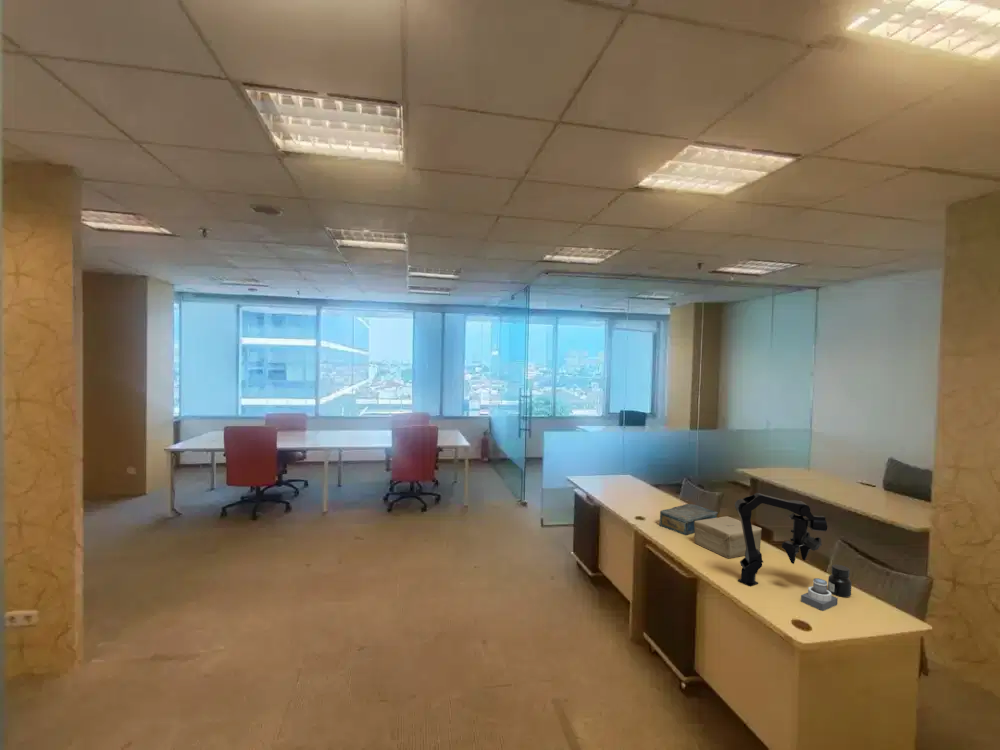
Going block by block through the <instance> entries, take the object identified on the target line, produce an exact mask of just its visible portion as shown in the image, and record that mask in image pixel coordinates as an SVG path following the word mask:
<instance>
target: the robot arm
mask: <svg viewBox="0 0 1000 750" xmlns="http://www.w3.org/2000/svg"><path fill="white" fill-rule="evenodd" d="M761 504H764V505H768V506H771V507H776V508H779V509H780V508H781V509H784V510H787V511H790V512H792V513H791V514H789V515H788V518H789V519H790V520H793V527H792V529H790V533H792V537H791V538H790V540H786V541H783V542H782V543H781V548H783V550H784V551H785V552H786V554H787V557H788V559H789V561H790V563H791V564H792V565H794V564H795V562H796V557H797V554H798V553H799V552H800V555H801V558H802V560H803V561H806V560H807V557H808V555H809V552H810V550H811V551H813V552H814V551H817V550H819V548H820V547H821V546H822V545H823V544H822V538H821V537H819V536H816V537H814V536H811V533H810V532H809V531H808V528H809V529H810V530H811V531H817V532H826V531H828V523H827V520H826V517H825V516H824V515H813V513H812V512H811V507H810V506H809V505H808V504H806V503H805V502H804V501H801V500H795V499H788V500H787V499H783V498H778V497H775V496H770V495H767V494H763V493H760V492H755V493H754V494H751V495H749V496H745V497H744V498H738V499H737V500H736V501H735V502H734V507H735V509H736V511H737V514H738V517H739V519H740V521H741V524H742V529H743V534H744V539H745V544H746V551H745V555H744V557H743V558H742V559H741V560H740V561H739V563H740V566H741V572H740V573H741V574H740V575H741V576H740V578H738V579H737V581H738V582H740V583H742V584H745V585H747V586H748V587H752V586H755V585H757V584H759V582H758V581H756V575H757V574H758V571H759V569H761V568H762V567H763V563H764V560H763V555H762V553H761V550H760V551H759V550H758V549H757V550H756V546H755V541H754V536H753V531H752V525H753V524H752V521H751V518H752V513H753V512H752V511H753V510H755V509H756V508H758V507H759V506H760V505H761Z"/></svg>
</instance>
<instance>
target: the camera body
mask: <svg viewBox="0 0 1000 750" xmlns="http://www.w3.org/2000/svg"><path fill="white" fill-rule="evenodd" d="M807 589H808V590H807V592H806V593H803V594H801V595H800V602H801V603H803V604H806V605H807V606H810V607H812V608H814V609H817V610H819V611H822V612H823V611H826V610H829V609H831V608H834V607H835V606H837V605H838V599H839V598H838V597H836V596H834V595H833V594H832V593H831V592H830V591H828V589H827V593H826V595H823V594H818V593H816V592H813V585H812V586H808V588H807Z"/></svg>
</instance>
